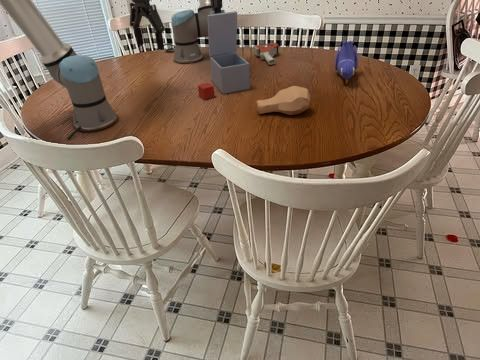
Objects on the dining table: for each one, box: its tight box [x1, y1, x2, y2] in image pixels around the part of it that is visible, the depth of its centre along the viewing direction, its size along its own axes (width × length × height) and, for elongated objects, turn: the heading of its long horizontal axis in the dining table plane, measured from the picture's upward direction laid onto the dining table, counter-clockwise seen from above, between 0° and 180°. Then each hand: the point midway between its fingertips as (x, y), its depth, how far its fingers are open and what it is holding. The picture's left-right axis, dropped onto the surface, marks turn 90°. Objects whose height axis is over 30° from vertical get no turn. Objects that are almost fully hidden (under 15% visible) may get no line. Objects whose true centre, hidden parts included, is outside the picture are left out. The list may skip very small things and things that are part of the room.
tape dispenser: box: [252, 42, 280, 66], centre depth 182 cm, size 18×5×20 cm
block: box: [197, 82, 216, 101], centre depth 146 cm, size 5×5×5 cm
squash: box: [255, 85, 312, 116], centre depth 130 cm, size 11×20×9 cm, turn 92°
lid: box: [207, 9, 238, 57], centre depth 152 cm, size 17×12×9 cm
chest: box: [209, 52, 251, 95], centre depth 154 cm, size 17×12×11 cm
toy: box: [334, 40, 359, 85], centre depth 152 cm, size 10×17×25 cm
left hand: (150, 46), depth 148 cm, fingers open, 13 cm apart
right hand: (218, 24), depth 153 cm, fingers closed on lid, 2 cm apart
